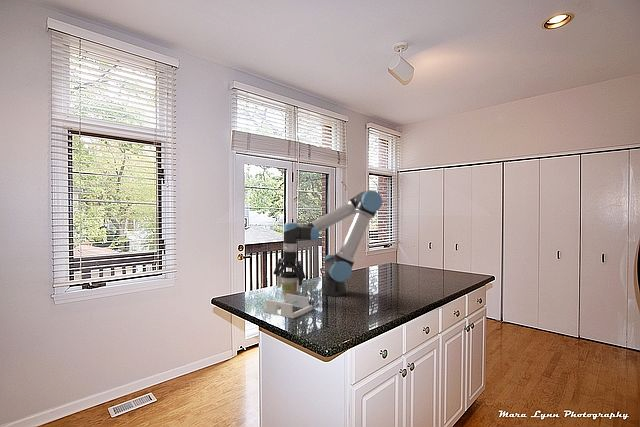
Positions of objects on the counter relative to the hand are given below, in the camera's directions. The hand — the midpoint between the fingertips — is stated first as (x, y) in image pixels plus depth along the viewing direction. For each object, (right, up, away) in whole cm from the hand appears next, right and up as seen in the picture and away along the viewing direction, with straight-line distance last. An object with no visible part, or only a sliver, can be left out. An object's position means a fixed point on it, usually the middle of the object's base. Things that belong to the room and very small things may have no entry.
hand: (288, 289), depth 187 cm
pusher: (+2, -6, -19) cm, 20 cm away
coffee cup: (0, -6, 0) cm, 6 cm away
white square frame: (+2, -6, -19) cm, 20 cm away
